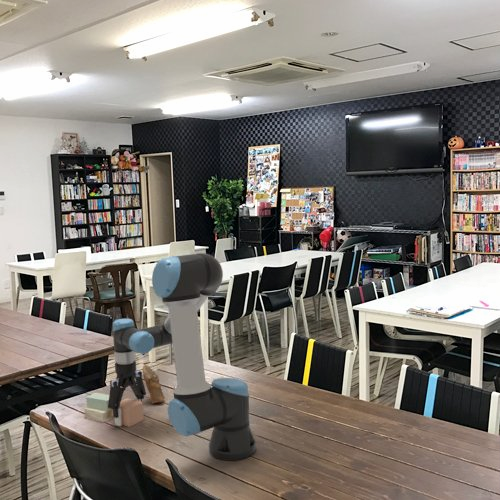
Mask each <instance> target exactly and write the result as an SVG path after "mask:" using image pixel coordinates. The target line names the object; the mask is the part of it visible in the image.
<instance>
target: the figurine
mask: <svg viewBox="0 0 500 500" xmlns="http://www.w3.org/2000/svg"><path fill="white" fill-rule="evenodd" d="M142 377H143V379H144V380H143V381H144V382H145V387H146V390H147V391H148V393H149V396H150V400H151V401H150V402H151V404H154V403H162V402H164V401H165V399H166V397H165V396H164V393H163V390H162V385H161V383H160V379H159V375H158V374H157V373H156V372H155V371H154V370H153V369H152V367H150V366H148V365H147V364H144V365H142Z"/></svg>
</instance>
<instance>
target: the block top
mask: <svg viewBox="0 0 500 500" xmlns="http://www.w3.org/2000/svg"><path fill="white" fill-rule="evenodd" d="M108 402H109V394H106V393H100V392H94V393H91V394H90V395H88V396H86V407H88V408H93V409H98V410H104V411H109V410H111V409H110V408H108Z"/></svg>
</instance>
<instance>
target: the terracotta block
mask: <svg viewBox="0 0 500 500" xmlns="http://www.w3.org/2000/svg"><path fill="white" fill-rule="evenodd" d="M119 408H121V421H122V426H125V427H129V428H131V427H133V426H134V425H136V424H138V422H139V423H140V421H141V422H143V421H144V419H145V418H144V402H143V401H142V402H140V401H136V400H134V399H133V398H128V397H127V398H125V399H123V400H122V399H121V403H120V406H119ZM142 420H143V421H142ZM113 421H114V423H115V417H114V418H113ZM130 426H131V427H130Z"/></svg>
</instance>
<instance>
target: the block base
mask: <svg viewBox="0 0 500 500" xmlns="http://www.w3.org/2000/svg"><path fill="white" fill-rule="evenodd" d="M83 410H84V418H85V419H88V420H92V421H95V420H96V422H99V423H103V424H104V423H106V422H108V421H110V420H112V419H114V417H113V409H111V410H109V411H104V410H98V409H93V408H88V407H87V406H86V407H84V408H83Z"/></svg>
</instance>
